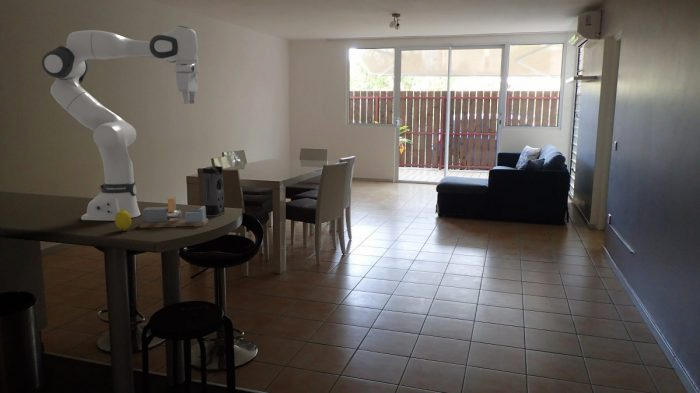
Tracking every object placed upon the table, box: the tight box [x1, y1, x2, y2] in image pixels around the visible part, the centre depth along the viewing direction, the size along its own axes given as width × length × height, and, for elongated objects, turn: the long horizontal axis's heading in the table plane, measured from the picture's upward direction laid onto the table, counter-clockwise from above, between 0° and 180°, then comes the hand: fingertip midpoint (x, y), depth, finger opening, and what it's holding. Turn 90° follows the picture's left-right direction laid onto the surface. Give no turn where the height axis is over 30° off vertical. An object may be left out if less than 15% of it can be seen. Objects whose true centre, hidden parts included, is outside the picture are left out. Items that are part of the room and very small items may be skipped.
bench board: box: [138, 217, 209, 228], centre depth 207 cm, size 24×8×2 cm, turn 94°
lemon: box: [114, 210, 132, 232], centre depth 196 cm, size 6×6×8 cm
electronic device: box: [201, 165, 226, 218], centre depth 224 cm, size 9×6×20 cm, turn 168°
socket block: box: [184, 205, 207, 222], centre depth 207 cm, size 6×6×5 cm
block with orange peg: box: [141, 196, 182, 219], centre depth 206 cm, size 14×4×8 cm, turn 94°
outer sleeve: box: [141, 206, 172, 223], centre depth 206 cm, size 9×5×5 cm, turn 93°
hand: (189, 103), depth 216 cm, fingers open, 8 cm apart
